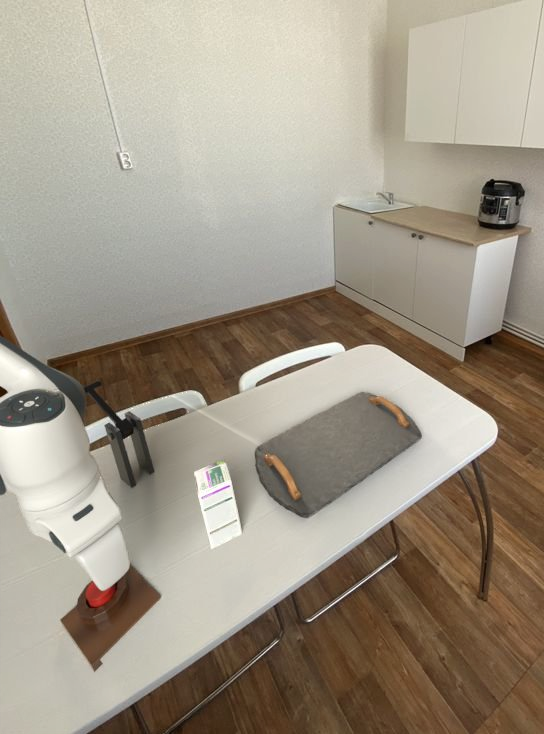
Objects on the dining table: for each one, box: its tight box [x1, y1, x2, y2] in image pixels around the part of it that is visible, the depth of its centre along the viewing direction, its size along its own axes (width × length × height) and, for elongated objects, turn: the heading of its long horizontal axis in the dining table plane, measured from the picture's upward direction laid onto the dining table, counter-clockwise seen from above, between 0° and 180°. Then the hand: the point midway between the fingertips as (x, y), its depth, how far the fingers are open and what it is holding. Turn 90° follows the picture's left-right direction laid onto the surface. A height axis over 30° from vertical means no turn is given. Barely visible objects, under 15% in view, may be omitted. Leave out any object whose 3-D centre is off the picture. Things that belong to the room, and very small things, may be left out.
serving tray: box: [254, 391, 423, 519], centre depth 90 cm, size 39×23×6 cm, turn 129°
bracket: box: [103, 410, 155, 489], centre depth 81 cm, size 10×8×16 cm
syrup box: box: [193, 459, 243, 550], centre depth 70 cm, size 6×6×14 cm
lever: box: [83, 379, 134, 440], centre depth 81 cm, size 16×5×2 cm, turn 57°
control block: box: [59, 564, 161, 673], centre depth 59 cm, size 10×10×4 cm
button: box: [86, 582, 116, 607], centre depth 60 cm, size 4×4×2 cm
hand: (92, 565), depth 58 cm, fingers closed
